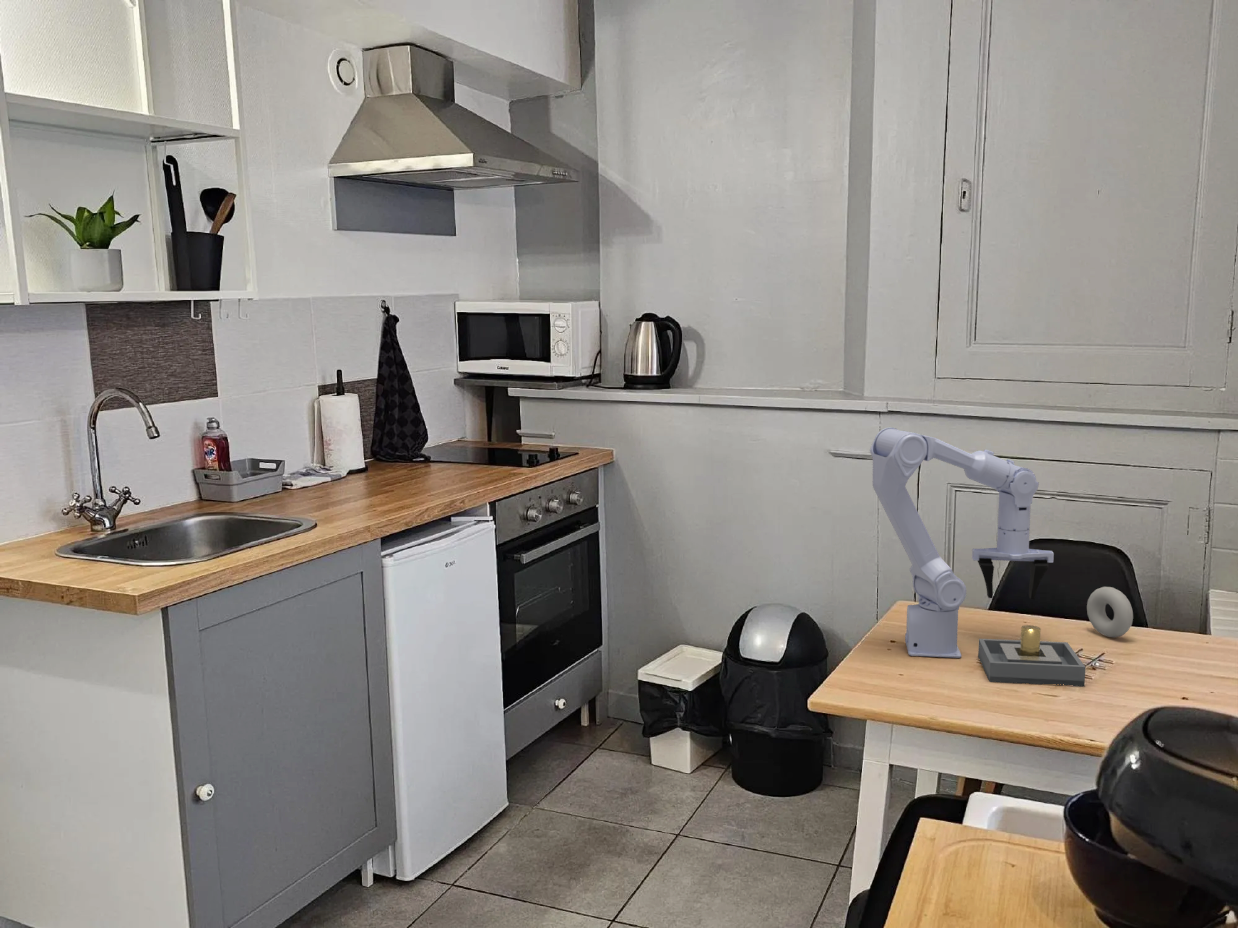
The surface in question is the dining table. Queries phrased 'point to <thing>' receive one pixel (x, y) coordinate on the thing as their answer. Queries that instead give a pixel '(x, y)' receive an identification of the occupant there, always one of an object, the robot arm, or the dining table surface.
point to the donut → (1119, 606)
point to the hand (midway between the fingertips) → (1010, 597)
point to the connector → (1030, 641)
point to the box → (1031, 665)
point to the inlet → (1013, 655)
